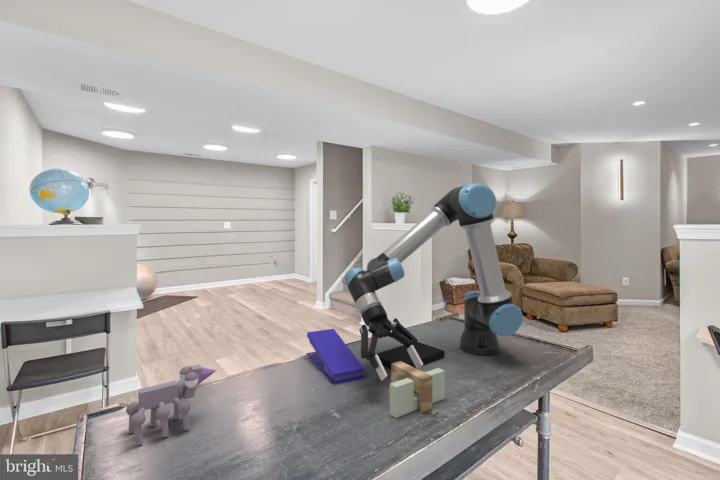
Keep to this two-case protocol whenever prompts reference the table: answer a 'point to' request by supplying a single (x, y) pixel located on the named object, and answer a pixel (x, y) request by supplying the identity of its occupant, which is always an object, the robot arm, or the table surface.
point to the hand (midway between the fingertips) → (403, 372)
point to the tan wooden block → (415, 383)
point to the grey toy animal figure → (166, 401)
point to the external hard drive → (401, 354)
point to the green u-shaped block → (407, 400)
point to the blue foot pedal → (334, 356)
